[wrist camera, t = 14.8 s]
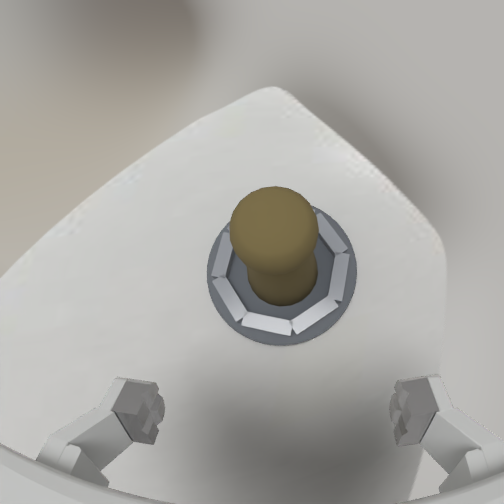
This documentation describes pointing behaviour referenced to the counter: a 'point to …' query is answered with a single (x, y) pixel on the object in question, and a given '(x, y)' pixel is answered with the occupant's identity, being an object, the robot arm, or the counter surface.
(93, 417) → the robot arm
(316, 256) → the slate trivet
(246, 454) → the counter surface
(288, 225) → the olive brown pepper mill
